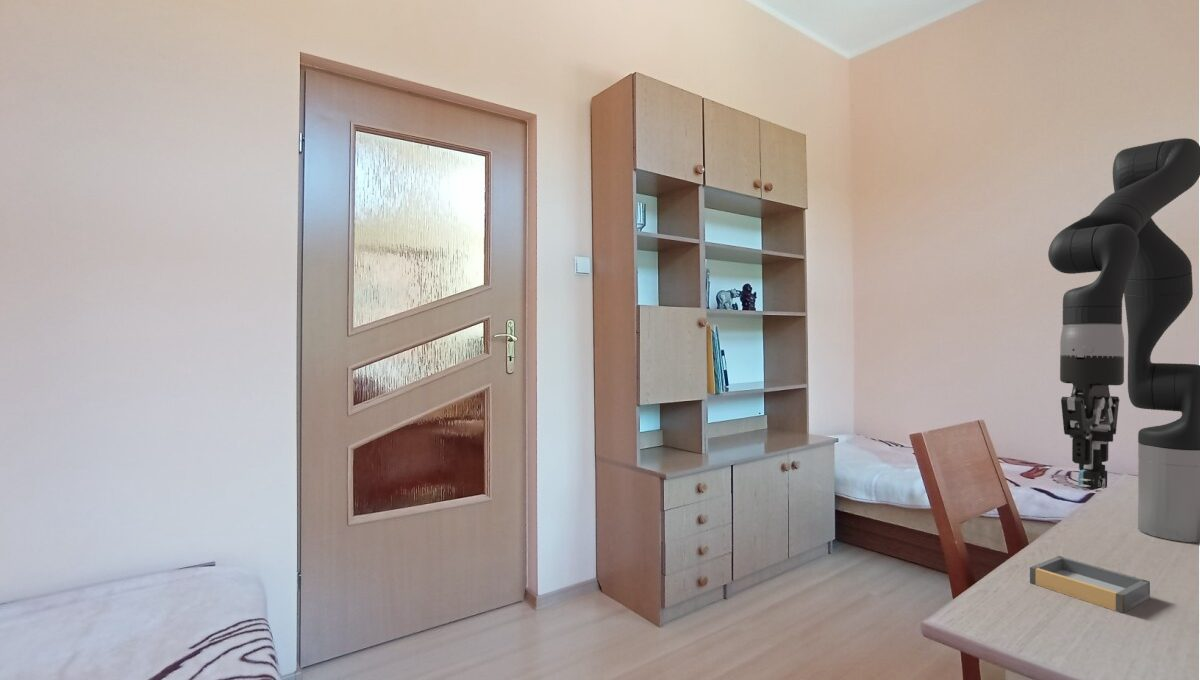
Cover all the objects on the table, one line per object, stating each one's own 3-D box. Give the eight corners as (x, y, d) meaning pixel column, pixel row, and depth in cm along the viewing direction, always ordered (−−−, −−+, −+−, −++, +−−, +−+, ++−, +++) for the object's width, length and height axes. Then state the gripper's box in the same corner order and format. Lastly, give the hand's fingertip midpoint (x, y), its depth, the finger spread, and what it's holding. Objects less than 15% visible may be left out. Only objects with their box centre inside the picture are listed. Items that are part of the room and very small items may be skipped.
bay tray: (1058, 570, 91) (1058, 555, 91) (1149, 597, 81) (1149, 581, 81) (1029, 582, 86) (1029, 567, 86) (1122, 613, 76) (1122, 595, 76)
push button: (1104, 494, 82) (1105, 426, 82) (1059, 486, 87) (1061, 421, 87) (1120, 489, 86) (1121, 424, 86) (1076, 481, 90) (1078, 420, 91)
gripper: (1082, 354, 94) (1081, 455, 94) (1040, 352, 87) (1039, 461, 87) (1141, 355, 87) (1140, 463, 87) (1101, 353, 81) (1100, 471, 80)
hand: (1090, 461), depth 87 cm, fingers closed on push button, 5 cm apart
